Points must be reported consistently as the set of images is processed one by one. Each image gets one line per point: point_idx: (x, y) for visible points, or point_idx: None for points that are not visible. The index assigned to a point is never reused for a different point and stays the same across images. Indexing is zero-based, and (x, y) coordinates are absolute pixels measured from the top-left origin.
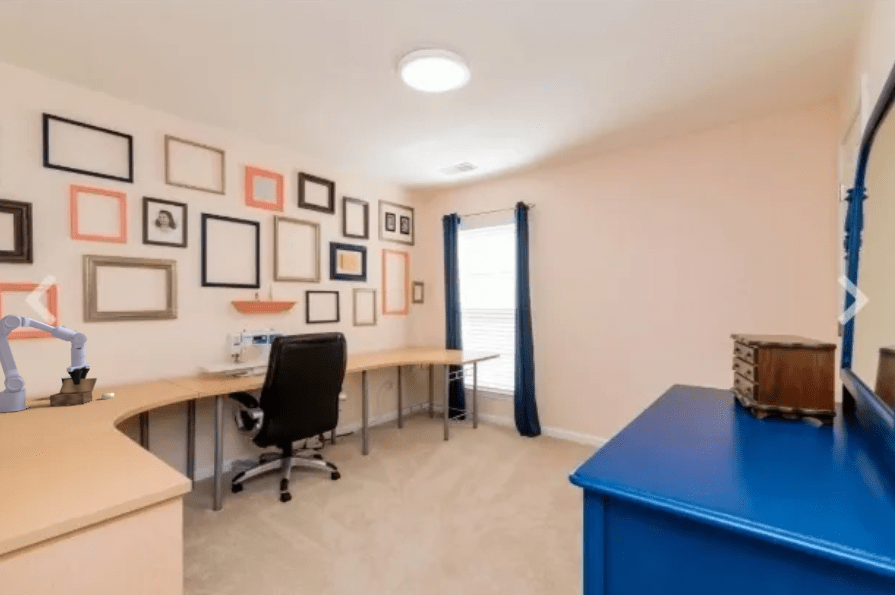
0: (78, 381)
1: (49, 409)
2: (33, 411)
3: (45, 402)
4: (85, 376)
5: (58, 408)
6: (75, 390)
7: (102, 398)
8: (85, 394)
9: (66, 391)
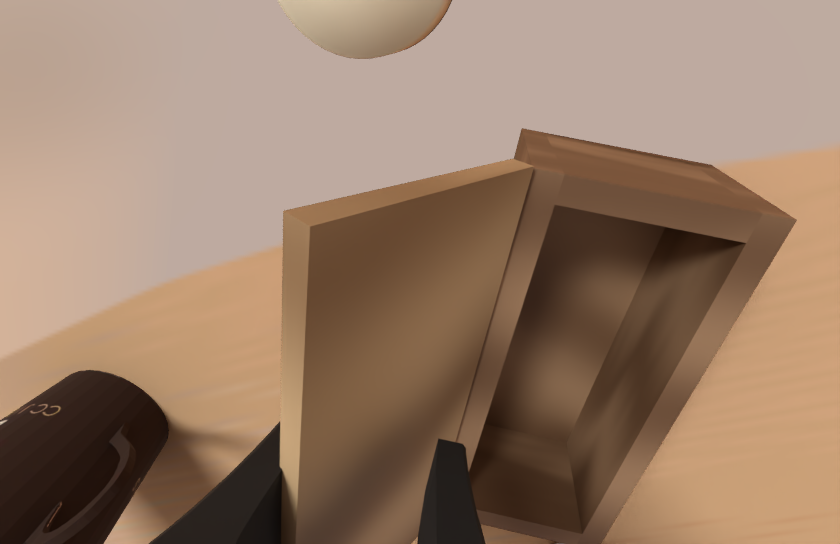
0: (468, 502)
1: (790, 413)
2: (788, 496)
3: None
4: (229, 514)
5: (802, 354)
6: (459, 401)
7: (443, 16)
8: (724, 198)
9: None
